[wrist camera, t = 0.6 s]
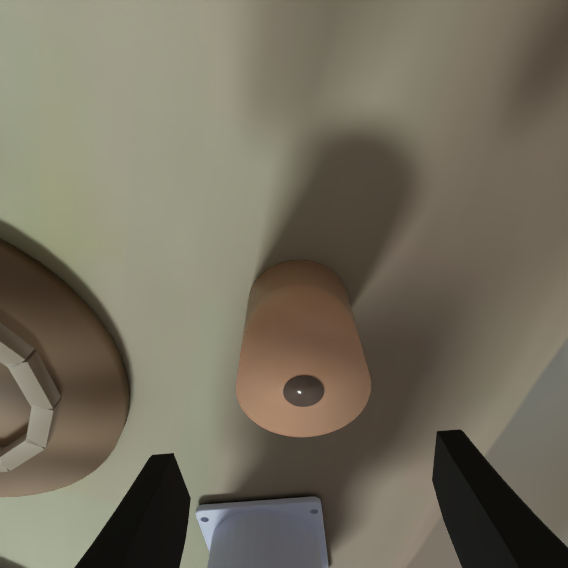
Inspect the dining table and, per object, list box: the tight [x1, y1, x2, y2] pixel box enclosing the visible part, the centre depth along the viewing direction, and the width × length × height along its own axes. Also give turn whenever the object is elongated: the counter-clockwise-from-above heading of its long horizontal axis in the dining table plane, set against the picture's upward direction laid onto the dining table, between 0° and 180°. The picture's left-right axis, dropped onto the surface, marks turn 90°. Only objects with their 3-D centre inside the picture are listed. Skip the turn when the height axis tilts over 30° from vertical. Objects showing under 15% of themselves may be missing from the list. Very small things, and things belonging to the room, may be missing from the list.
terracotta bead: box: [236, 260, 371, 437], centre depth 16 cm, size 5×5×6 cm
